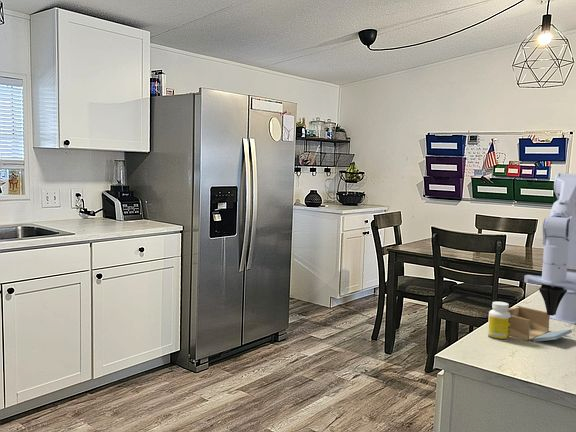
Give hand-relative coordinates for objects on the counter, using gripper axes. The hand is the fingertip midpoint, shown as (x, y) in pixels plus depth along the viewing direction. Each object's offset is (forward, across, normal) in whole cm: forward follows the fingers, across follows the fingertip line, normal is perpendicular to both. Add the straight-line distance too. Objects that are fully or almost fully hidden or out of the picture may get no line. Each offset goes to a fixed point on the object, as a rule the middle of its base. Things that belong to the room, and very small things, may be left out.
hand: (551, 314), depth 137 cm
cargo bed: (+7, -8, 0) cm, 10 cm away
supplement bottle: (+8, -9, -10) cm, 15 cm away
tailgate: (+7, -2, 0) cm, 7 cm away
